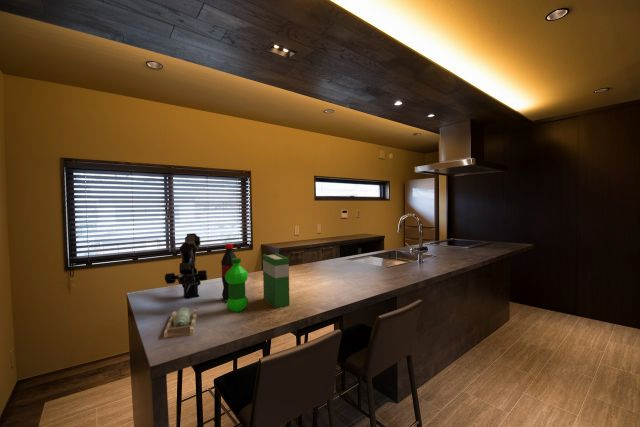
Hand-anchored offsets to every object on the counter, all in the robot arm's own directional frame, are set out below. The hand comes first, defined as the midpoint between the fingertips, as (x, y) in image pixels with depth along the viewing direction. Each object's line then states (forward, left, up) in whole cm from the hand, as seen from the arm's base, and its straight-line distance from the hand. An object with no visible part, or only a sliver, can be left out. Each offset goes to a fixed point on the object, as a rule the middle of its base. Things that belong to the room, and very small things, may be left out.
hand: (185, 292), depth 139 cm
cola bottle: (-23, -3, -10) cm, 25 cm away
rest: (+6, +15, -9) cm, 18 cm away
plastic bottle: (-19, +14, -10) cm, 26 cm away
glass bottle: (+4, +10, -6) cm, 12 cm away
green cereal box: (-39, +17, -10) cm, 44 cm away
